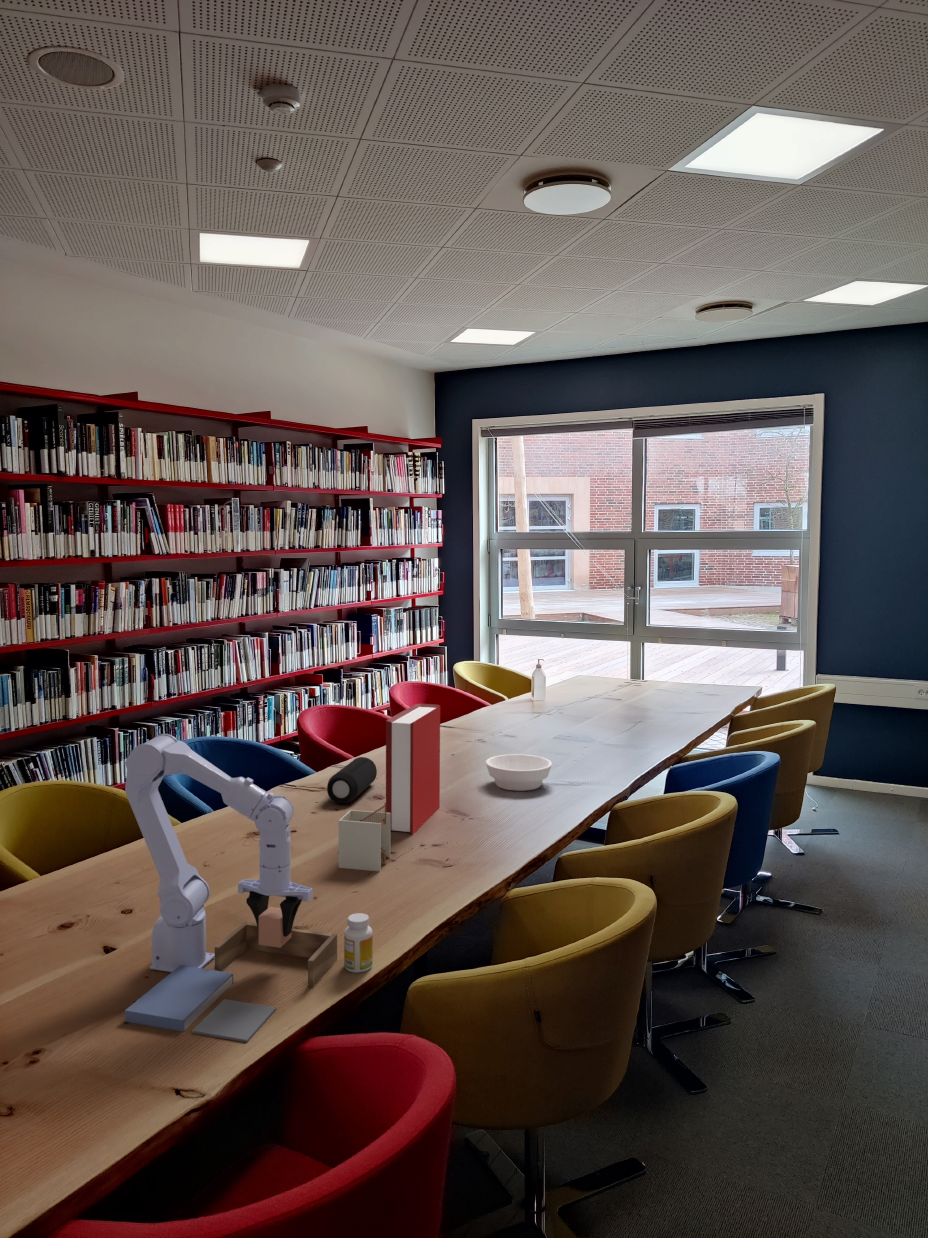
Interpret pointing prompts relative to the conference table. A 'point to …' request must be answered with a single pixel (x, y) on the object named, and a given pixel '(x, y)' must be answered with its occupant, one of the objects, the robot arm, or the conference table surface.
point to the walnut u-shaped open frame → (300, 944)
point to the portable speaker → (351, 780)
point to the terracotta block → (272, 928)
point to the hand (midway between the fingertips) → (275, 932)
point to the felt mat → (234, 1020)
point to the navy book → (179, 998)
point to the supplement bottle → (358, 944)
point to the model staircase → (364, 840)
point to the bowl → (518, 771)
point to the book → (413, 766)
